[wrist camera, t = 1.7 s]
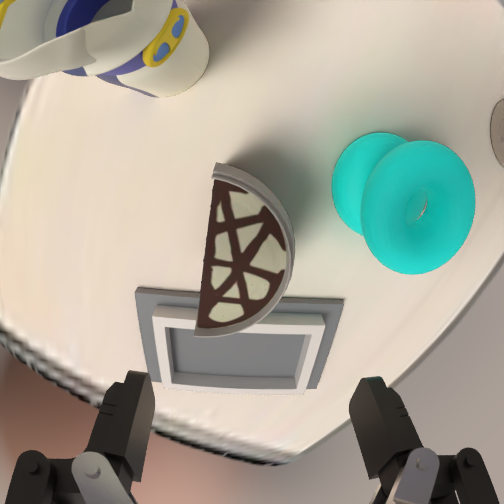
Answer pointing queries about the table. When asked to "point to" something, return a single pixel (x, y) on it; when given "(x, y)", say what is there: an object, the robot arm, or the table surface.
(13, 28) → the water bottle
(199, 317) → the food container
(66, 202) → the table surface
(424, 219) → the donuts
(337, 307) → the tray
